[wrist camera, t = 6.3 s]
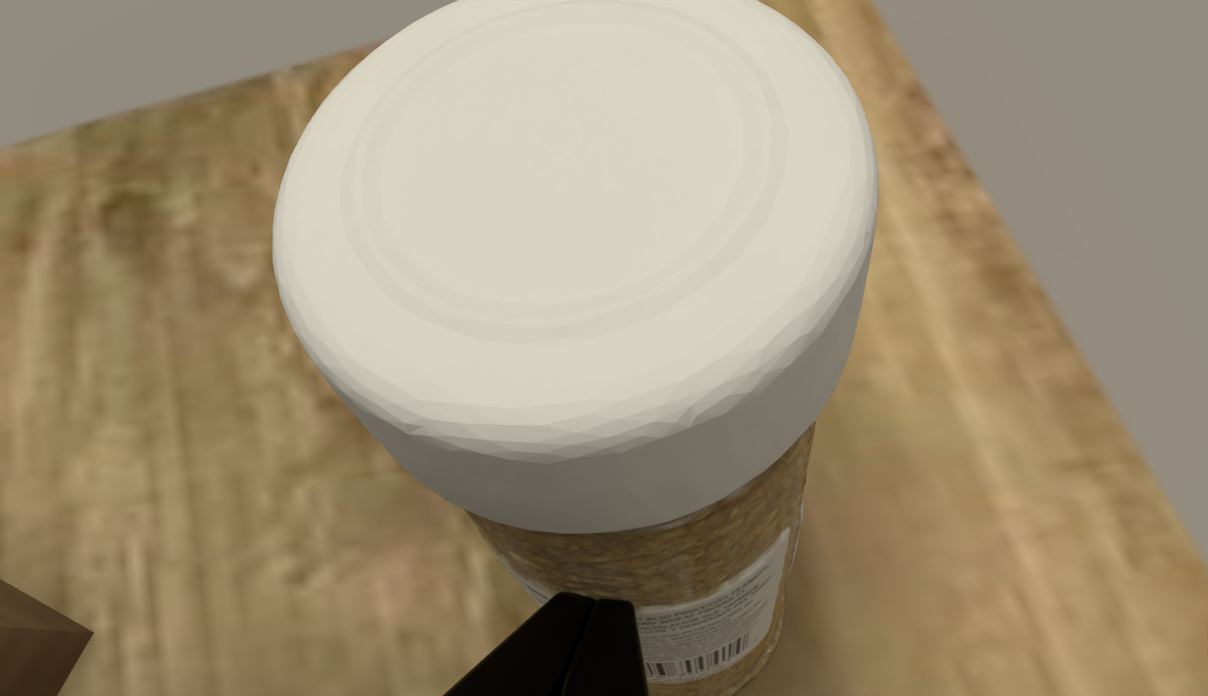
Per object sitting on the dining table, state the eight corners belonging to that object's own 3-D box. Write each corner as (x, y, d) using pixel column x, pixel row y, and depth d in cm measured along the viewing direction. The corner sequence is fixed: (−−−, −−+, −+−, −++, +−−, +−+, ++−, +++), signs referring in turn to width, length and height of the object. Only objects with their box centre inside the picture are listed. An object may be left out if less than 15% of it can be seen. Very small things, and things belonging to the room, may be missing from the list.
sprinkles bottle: (797, 516, 18) (919, -48, 6) (763, 743, 16) (852, 510, 4) (594, 476, 19) (385, -70, 8) (537, 684, 17) (129, 371, 5)
